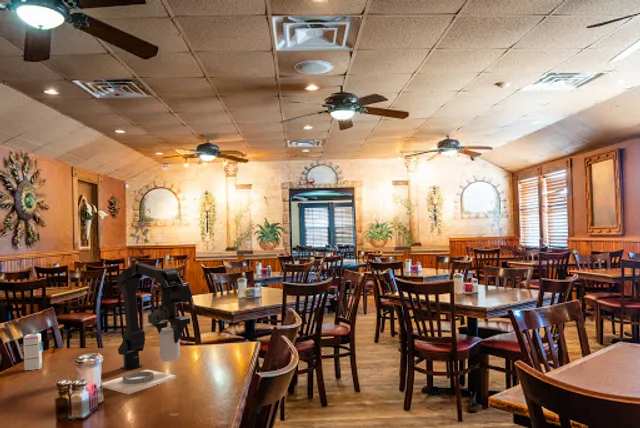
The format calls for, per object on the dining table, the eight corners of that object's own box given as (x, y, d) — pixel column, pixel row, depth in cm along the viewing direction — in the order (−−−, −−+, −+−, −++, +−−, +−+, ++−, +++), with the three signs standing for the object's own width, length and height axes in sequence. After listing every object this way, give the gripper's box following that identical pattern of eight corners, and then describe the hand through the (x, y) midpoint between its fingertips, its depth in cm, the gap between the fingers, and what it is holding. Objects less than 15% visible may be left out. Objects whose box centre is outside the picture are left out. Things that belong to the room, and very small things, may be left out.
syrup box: (40, 369, 201) (39, 335, 202) (23, 371, 199) (23, 336, 199) (42, 366, 206) (41, 332, 207) (26, 368, 204) (26, 334, 205)
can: (174, 361, 180) (173, 330, 180) (156, 361, 181) (155, 330, 182) (183, 356, 187) (182, 326, 188) (166, 356, 189) (165, 326, 189)
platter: (99, 386, 173) (99, 379, 174) (147, 372, 190) (146, 365, 190) (128, 394, 163) (128, 386, 163) (176, 378, 180) (175, 371, 180)
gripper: (135, 303, 184) (136, 344, 183) (167, 306, 173) (168, 349, 173) (159, 299, 193) (160, 338, 192) (190, 301, 183) (191, 342, 182)
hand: (169, 341), depth 185 cm, fingers closed on can, 7 cm apart
